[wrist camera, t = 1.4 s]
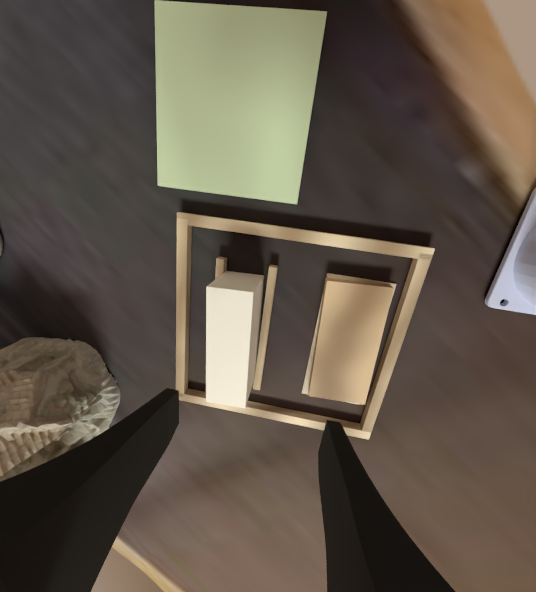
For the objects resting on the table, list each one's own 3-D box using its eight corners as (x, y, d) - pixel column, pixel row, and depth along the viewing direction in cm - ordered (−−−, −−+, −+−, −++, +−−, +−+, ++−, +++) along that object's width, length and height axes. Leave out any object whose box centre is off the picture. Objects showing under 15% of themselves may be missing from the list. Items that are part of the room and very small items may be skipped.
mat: (326, 17, 14) (326, 11, 14) (297, 204, 18) (297, 204, 17) (159, 6, 15) (154, -1, 15) (161, 186, 18) (157, 185, 18)
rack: (429, 247, 17) (434, 248, 17) (366, 432, 23) (368, 439, 22) (182, 212, 19) (177, 212, 18) (179, 393, 24) (175, 399, 24)
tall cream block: (264, 274, 20) (253, 292, 16) (256, 371, 23) (245, 408, 18) (227, 270, 20) (206, 286, 16) (223, 366, 23) (206, 401, 19)
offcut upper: (389, 284, 18) (393, 287, 18) (362, 396, 22) (364, 404, 21) (325, 277, 19) (326, 280, 18) (308, 388, 22) (308, 395, 21)
